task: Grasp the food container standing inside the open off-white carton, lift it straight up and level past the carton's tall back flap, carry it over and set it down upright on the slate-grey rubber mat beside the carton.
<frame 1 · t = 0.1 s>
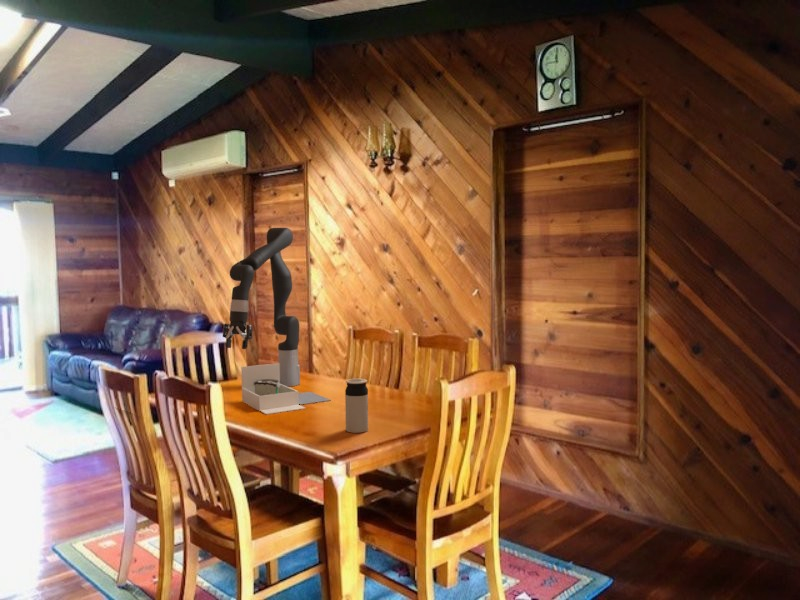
hand: (236, 348, 277), 22 cm above the table, tool pointing down, fingers open, 8 cm apart
travel mug: (357, 431, 229), on the table
slate mat: (305, 398, 281), on the table
carton: (270, 403, 272), on the table
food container: (270, 404, 272), resting in carton
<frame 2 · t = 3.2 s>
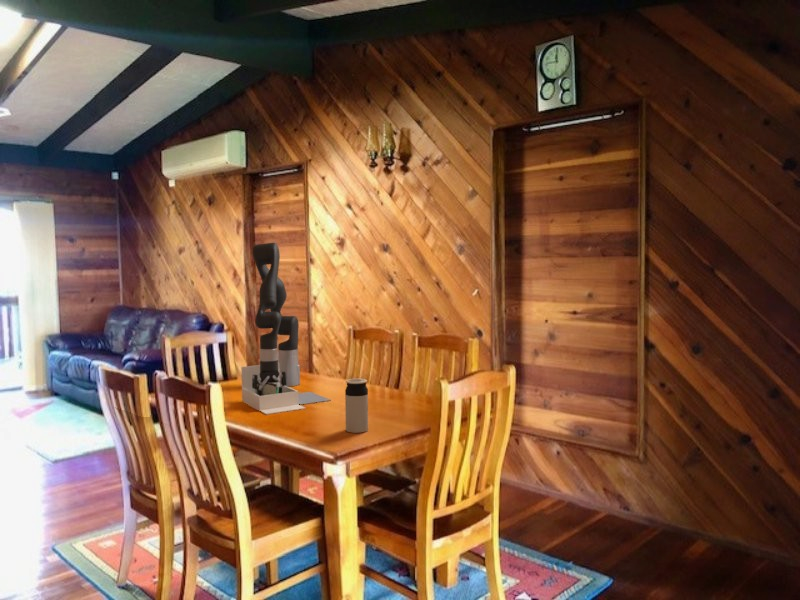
hand: (269, 397, 271), 3 cm above the table, tool pointing down, fingers open, 8 cm apart
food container: (270, 404, 272), resting in carton, touching gripper
everything else where it was.
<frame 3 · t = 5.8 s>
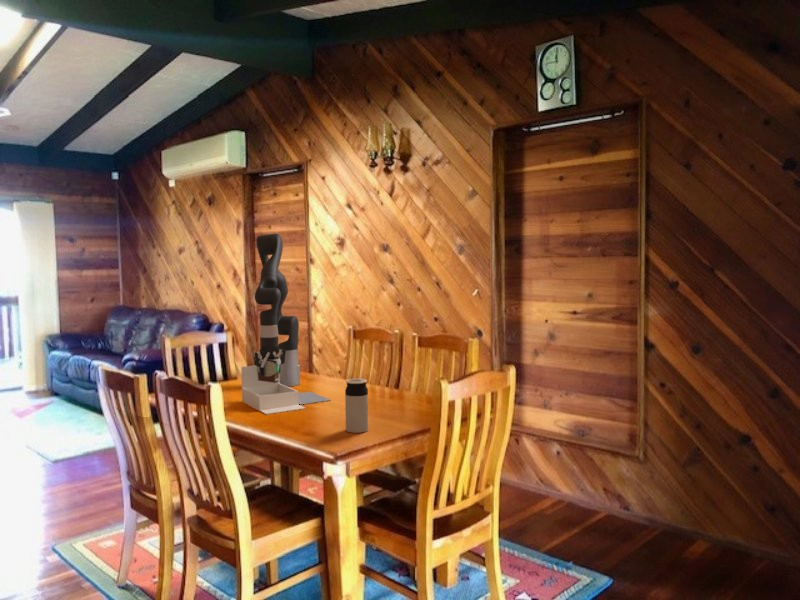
hand: (270, 375, 271), 12 cm above the table, tool pointing down, fingers closed on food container, 6 cm apart
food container: (271, 381, 272), point 9 cm above the table, touching gripper
everything else where it was.
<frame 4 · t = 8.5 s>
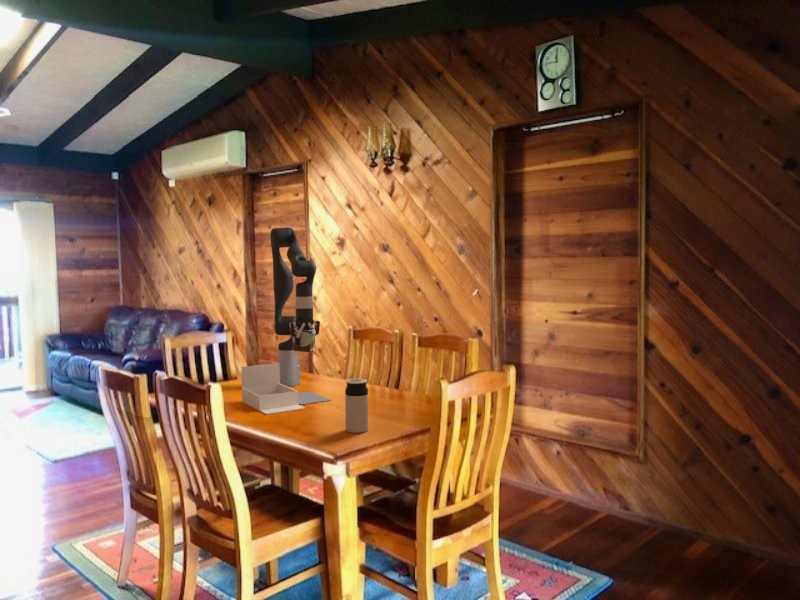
hand: (304, 345, 279), 23 cm above the table, tool pointing down, fingers closed on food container, 6 cm apart
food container: (306, 351, 280), point 21 cm above the table, touching gripper
everything else where it was.
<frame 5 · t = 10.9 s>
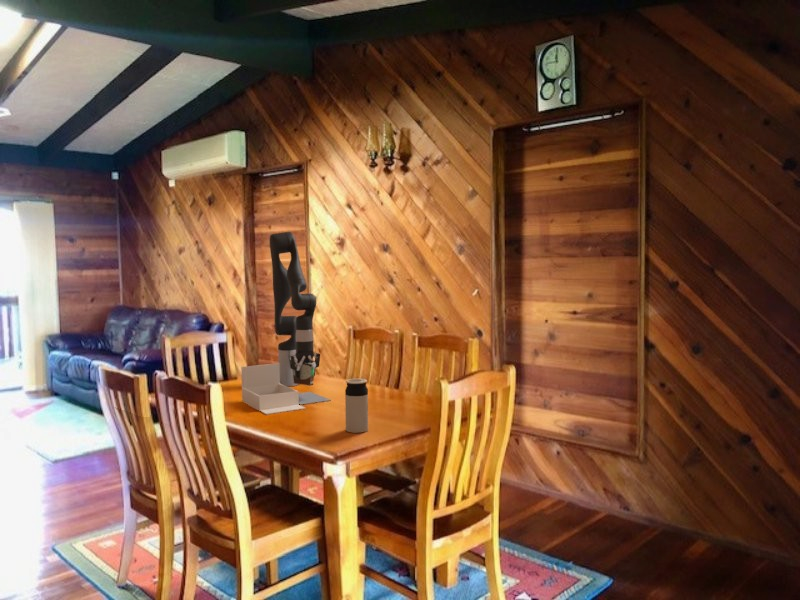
hand: (305, 378, 280), 9 cm above the table, tool pointing down, fingers closed on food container, 6 cm apart
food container: (306, 383, 281), point 6 cm above the table, touching gripper
everything else where it was.
when the fingers open (4 cm above the table, at t = 13.0 s): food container moves 1 cm, resting on slate mat.
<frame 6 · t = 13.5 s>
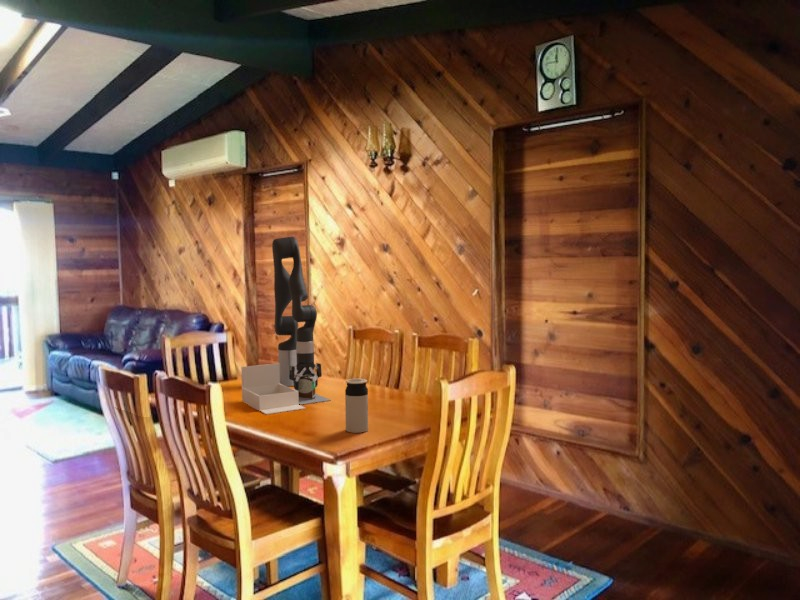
hand: (305, 388, 280), 4 cm above the table, tool pointing down, fingers open, 8 cm apart
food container: (308, 396, 282), point 1 cm above the table, touching slate mat
everything else where it was.
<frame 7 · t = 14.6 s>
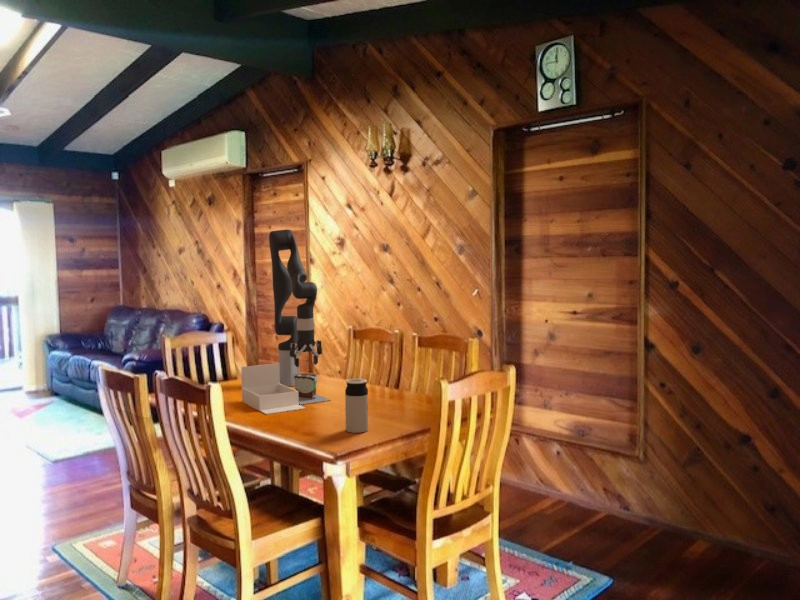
hand: (306, 365, 280), 14 cm above the table, tool pointing down, fingers open, 8 cm apart
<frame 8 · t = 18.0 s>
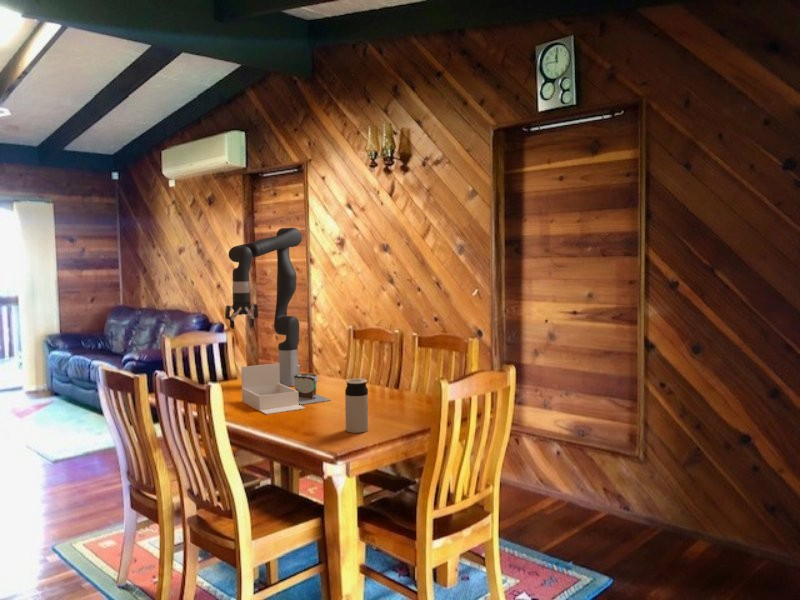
hand: (242, 328, 286), 30 cm above the table, tool pointing down, fingers open, 8 cm apart
nothing on the table moved.
at the end: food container inside the target area (1.8 cm from its centre), resting on slate mat; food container tilted 0°; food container touching slate mat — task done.
